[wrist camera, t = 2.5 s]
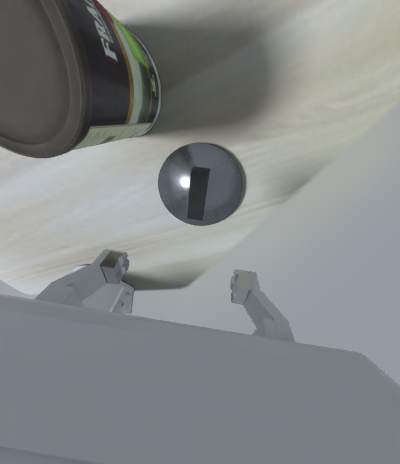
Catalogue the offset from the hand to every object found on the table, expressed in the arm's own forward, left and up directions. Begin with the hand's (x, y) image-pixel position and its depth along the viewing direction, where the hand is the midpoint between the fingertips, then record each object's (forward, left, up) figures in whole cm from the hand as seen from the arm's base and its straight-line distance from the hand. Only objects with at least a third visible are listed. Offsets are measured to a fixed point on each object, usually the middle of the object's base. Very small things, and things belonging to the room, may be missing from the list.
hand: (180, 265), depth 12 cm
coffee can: (+11, +11, -17) cm, 23 cm away
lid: (0, 0, -17) cm, 17 cm away
